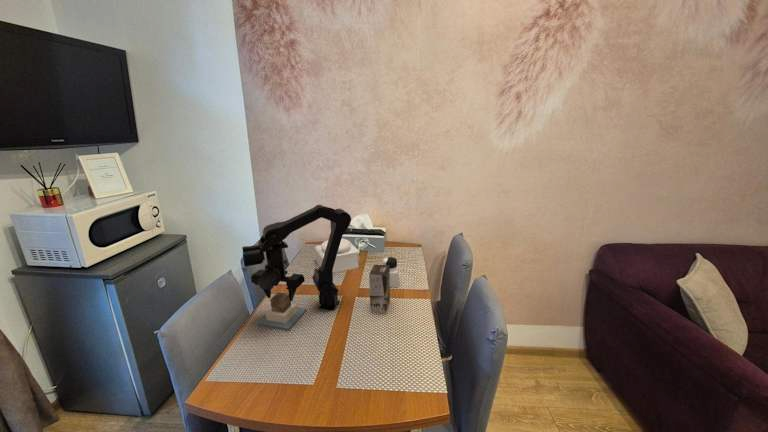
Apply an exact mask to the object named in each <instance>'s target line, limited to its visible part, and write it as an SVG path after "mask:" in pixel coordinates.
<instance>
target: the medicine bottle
mask: <svg viewBox="0 0 768 432" xmlns="http://www.w3.org/2000/svg"><path fill="white" fill-rule="evenodd" d="M382 265H390V288H399V282H400V275H399V272H400V271H399V270H400V267H399V266H398V259H397V258H395V257H392V256H387V257H385V258H383V260H382Z"/></svg>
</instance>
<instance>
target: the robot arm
mask: <svg viewBox="0 0 768 432" xmlns="http://www.w3.org/2000/svg"><path fill="white" fill-rule="evenodd" d="M321 218H322V219H325V220H327V221H330V234H329V237H328V239H327V240H328V244H327V247H326V251H325V254H324V258H323V261H322V265H321V267H319V268H314V271H313V272H314V273H313V275H312V277H311V278H312V282H313V284H314V286H315V287H316V289H317V292H319V293H318V304H319V306H318V309H320V310H326V311H327V310H328V311H334V310H335V309H336V308H337V307H338V305H339V304H340V303H341V301H340V300H339V297H338V294H339V289H338V287H337V286H336V284H335V283H334V276H333V274H334V273H333V266H334V263H335V259H336V256H337V253H338V249H339V246H340V242H341V239H342V238H343V236H344V234H345V233H346V232H347V230H349V227H350V224H351V223H352V217H351V215H350V214H349V212H347V211H345V209H342V208H336V209H334V208H333V207H328V206H324V205H322V204H316V205H315V206H314V207H312V208H310V209H308V210H306V211H304V212H301V213H299V214H297V215H295V216H293V217H291V218H289V219H287V220H284V221H278V222H274V223H270V224H268V225H266V226H264V228H263V229H262V235H261V237H260V239H259V240H258V242H257V244H256V245H255V244H254V245H250V246H248V245H247V246H242V247H241V248H242V261H243V265H244V268H245V267H251V266H256V265H262V263H264V261H265V260H266V264H265V265H264V269H258V270H257V271H255V272H254V273H253V274H252V275H251V276H250V281H251V283H252V284H254V285H256V286H258V287H259V289H262V290H263V293H264V294H265V296H266V297H267V299H271V298H272V296H271V295H272V289H273V288H274V287H278V285H280V282H283V283H286V284H285V285H286V287H285V289H286V290H288V294H289V299H290V302H291V303H292V302H293V300H294V297H295V294H296V291H297V289H299V287H301V285H302V284H303V283H304V282H305V276H304V275H303V274H300V273H292V275H290V276H286V275H288V270H286V268H285V267H286V266H285V265H286V264H287V260H286V259H285V258H284V251H283V249H287V248H289V245H288V244H287V242H285V241H284V240H286V238H288V236H289V235H291V234H292V233H293V232H295V231H297V230H299V229H301V228H303V227H306V226H307V225H310V224H312V223H314V222H316V221H317V220H319V219H321Z"/></svg>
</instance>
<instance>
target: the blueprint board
mask: <svg viewBox="0 0 768 432" xmlns="http://www.w3.org/2000/svg"><path fill="white" fill-rule="evenodd" d="M307 311H308V309H307V307H300V306H298V305H297V304H296V303H291V306H290V307H289V308H288V309H287V310H286V311H285V313H280V312H274V311H272V309H271V308H270V309H269V310H268V311H266V312H265V315H264V316H263V317H261V319H259V320H258V321H257V322H256V326H257V327H258V326H259V327H262V328H269V329H275V330H280V329H281V331H285V332H286V331H287V332H290V330H291V329H292V328H293V327H294V326H295V325H296V324H297V323H298V321H299V320H301V318H302V317H303V316H304V314H306V312H307Z"/></svg>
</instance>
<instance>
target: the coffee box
mask: <svg viewBox="0 0 768 432" xmlns="http://www.w3.org/2000/svg"><path fill="white" fill-rule="evenodd" d="M368 275H369V277H368V279H369V282H368V284H369V307H370V309H369V311H370V313H376V314H384V315H385V314H387V312H388V309H389V307H390V302H391V287H390V265H383V264H373V266H372V267H371V270H370V272H369V274H368Z"/></svg>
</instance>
